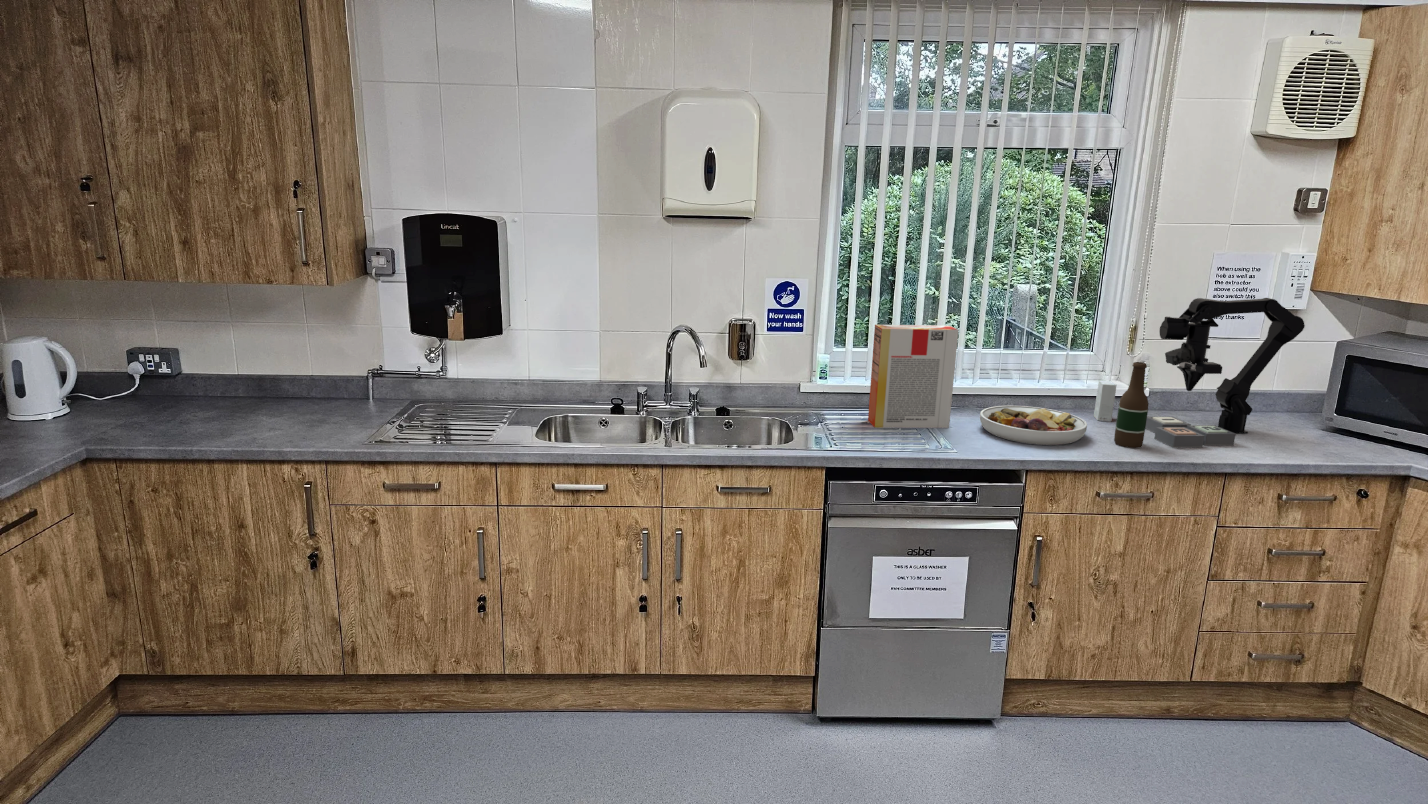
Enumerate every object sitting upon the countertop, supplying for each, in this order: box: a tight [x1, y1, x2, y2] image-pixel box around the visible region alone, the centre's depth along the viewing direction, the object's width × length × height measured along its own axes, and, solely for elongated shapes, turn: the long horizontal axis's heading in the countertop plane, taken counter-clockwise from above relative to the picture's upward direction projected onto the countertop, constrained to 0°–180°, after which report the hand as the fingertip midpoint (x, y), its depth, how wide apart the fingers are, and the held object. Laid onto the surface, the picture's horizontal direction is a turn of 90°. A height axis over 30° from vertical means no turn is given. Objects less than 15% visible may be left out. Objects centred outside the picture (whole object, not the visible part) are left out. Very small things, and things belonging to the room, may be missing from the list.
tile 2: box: [1195, 426, 1228, 433], centre depth 251 cm, size 6×6×3 cm
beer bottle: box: [1113, 361, 1149, 449], centre depth 243 cm, size 8×8×24 cm
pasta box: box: [867, 324, 959, 429], centre depth 258 cm, size 23×8×30 cm, turn 94°
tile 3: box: [1164, 428, 1196, 435], centre depth 248 cm, size 6×6×3 cm
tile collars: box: [1145, 416, 1237, 449], centre depth 254 cm, size 20×21×4 cm
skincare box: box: [1093, 380, 1117, 422], centre depth 272 cm, size 6×4×12 cm
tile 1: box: [1152, 416, 1183, 424], centre depth 260 cm, size 6×6×3 cm
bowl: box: [979, 405, 1088, 446], centre depth 255 cm, size 30×30×8 cm
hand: (1188, 390), depth 262 cm, fingers closed
